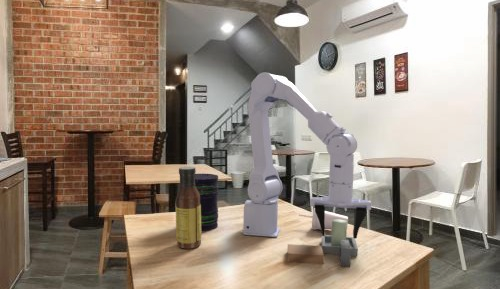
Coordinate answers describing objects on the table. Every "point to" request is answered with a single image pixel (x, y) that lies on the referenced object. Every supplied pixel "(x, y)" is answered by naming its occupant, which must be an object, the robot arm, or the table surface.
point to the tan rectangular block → (305, 254)
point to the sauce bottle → (188, 210)
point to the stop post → (345, 253)
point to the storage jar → (208, 200)
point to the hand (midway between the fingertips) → (338, 235)
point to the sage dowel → (338, 231)
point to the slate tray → (336, 249)
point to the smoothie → (327, 220)
